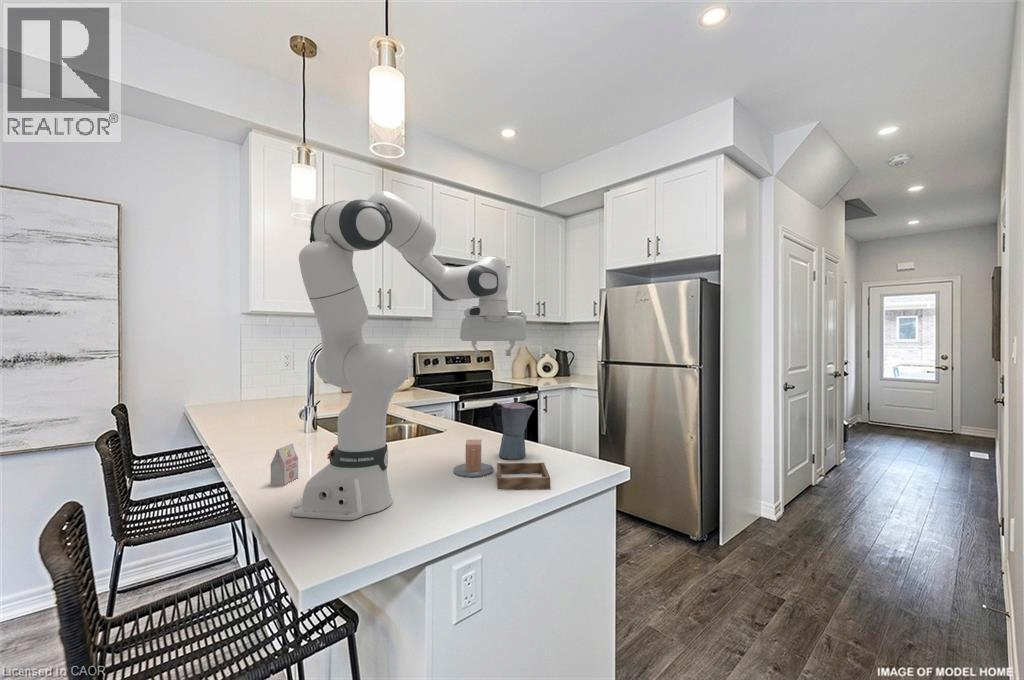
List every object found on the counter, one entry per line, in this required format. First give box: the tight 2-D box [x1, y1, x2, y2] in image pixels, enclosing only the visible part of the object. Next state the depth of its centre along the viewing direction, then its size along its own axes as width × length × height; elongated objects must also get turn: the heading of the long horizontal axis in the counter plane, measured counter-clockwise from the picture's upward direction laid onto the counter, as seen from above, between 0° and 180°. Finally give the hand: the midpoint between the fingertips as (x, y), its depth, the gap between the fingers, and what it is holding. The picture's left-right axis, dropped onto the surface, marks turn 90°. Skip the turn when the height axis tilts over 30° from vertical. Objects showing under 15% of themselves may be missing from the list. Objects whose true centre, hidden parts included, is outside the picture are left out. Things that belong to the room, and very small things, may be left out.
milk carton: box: [270, 443, 299, 487], centre depth 124 cm, size 4×7×10 cm, turn 173°
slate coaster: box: [453, 462, 495, 479], centre depth 134 cm, size 12×12×1 cm
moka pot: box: [488, 397, 535, 461], centre depth 150 cm, size 10×15×20 cm, turn 89°
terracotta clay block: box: [465, 439, 482, 472], centre depth 134 cm, size 8×4×8 cm, turn 3°
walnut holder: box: [496, 462, 551, 490], centre depth 126 cm, size 14×14×3 cm
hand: (493, 355), depth 137 cm, fingers open, 8 cm apart
